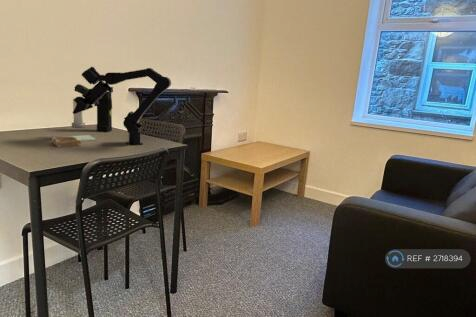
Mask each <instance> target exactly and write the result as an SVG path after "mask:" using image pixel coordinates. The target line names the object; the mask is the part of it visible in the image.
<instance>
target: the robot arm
mask: <svg viewBox="0 0 476 317" xmlns="http://www.w3.org/2000/svg"><path fill="white" fill-rule="evenodd" d="M81 77H82V78H83V79H84V80H85V81H86V82H88V83H87V84H89V85H94V86H93V87H92V88H88V87H86V86H85V85H82V84H80V83H77V84H76V85H75V86H74V90H73V91H74V92H77V93H78V94H81V96H76V97H75V99H74V98H73V99H74V101H75V102H76V103H77V105H76V107H75V109H74V111H73V110H72V115H73V114H76V113H78V112H81V111H82V112H84V111H86V110H89V109H93V108H94V107H97V105H98V104H99V101H98V100H99V99H101V98H102V96H103V95H104V94H105V93H106V92H110V93H111V94H112V93H113V92H114V87H113V86H112V85H117V84H120V83H122V82H125V81H128V80H135V79H141V78H146V77H148V78H149V79H150V80H152V81H153V82H154V83H155V85H154V87H153V89H152V91H151V92H150V93H149V94H148V96H147V97H146V98H145V99H144V100H143V101H142V102H141V104H140V105H139V106H138V107H137V108H136V109H135V111H134V112H133V111H132V110H131V111H129V112H128V113H127V115H126V116H125V117H123V119H124V120H123V122H122V123H123V126H124V128H125V129H126V130H127V131H126V132H127V133H128V141H125V143H126V144H128V145H130V146H133V145H134V146H135V145H139V146H140V145H144V143H143V142H141V133H142V132H141V131H142V130H143V126H142V125H141V124H140V121H141V119H142V117H143V115H144V114H146V111H147V110H148V109H149V108H150V107H151V105H153V103H154V102H155V101H156V99H157V98H158V97H159V96H160V95H161V94H162V93H164V92H165V91H167V90H168V89H169V87H171V85H172V80H171V79H170V78H169V77H168V76H163V75H162V74H161V73H158V71H156V70H154V69H153V68H151V67H147V68H143V69H139V70H138V69H137V70H133V71H132V70H131V71H127V72H126V71H125V72H106V73H105V74H100V72H98V71H97V70H96V68H95V67H94V66H91V67H89V68H88V69H85V70H84V71H83V72H82V73H81ZM110 85H111V86H110Z"/></svg>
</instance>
